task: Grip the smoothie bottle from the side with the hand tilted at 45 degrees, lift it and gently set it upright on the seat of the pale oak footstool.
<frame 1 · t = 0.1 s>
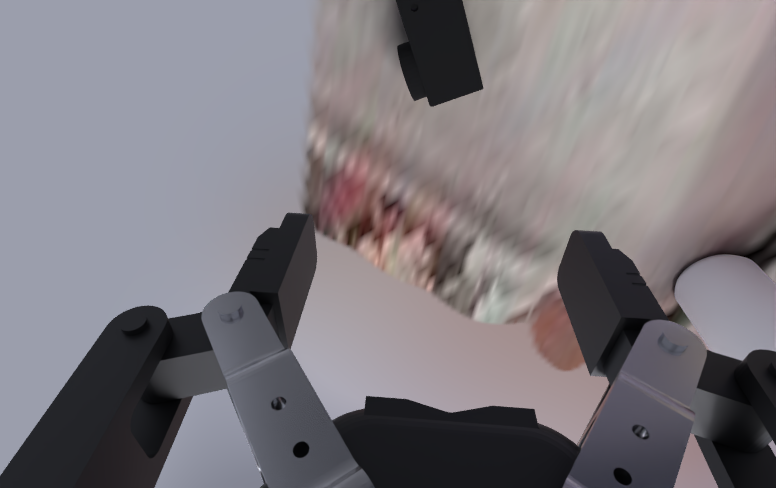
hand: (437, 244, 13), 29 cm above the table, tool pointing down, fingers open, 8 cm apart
digital camera: (428, 15, 35), on the table
alcohol: (710, 278, 50), on the table
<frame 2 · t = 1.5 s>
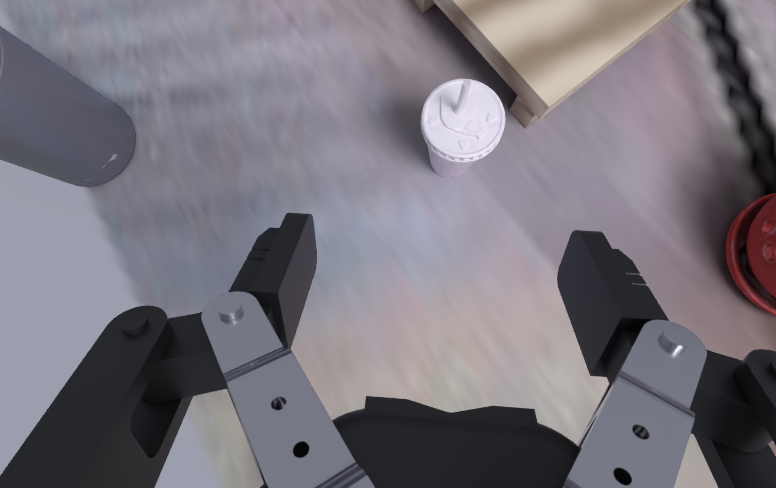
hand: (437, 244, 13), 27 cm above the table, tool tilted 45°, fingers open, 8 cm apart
smoothie: (448, 160, 41), on the table
stool: (534, 7, 43), on the table
plant pot: (775, 253, 39), on the table
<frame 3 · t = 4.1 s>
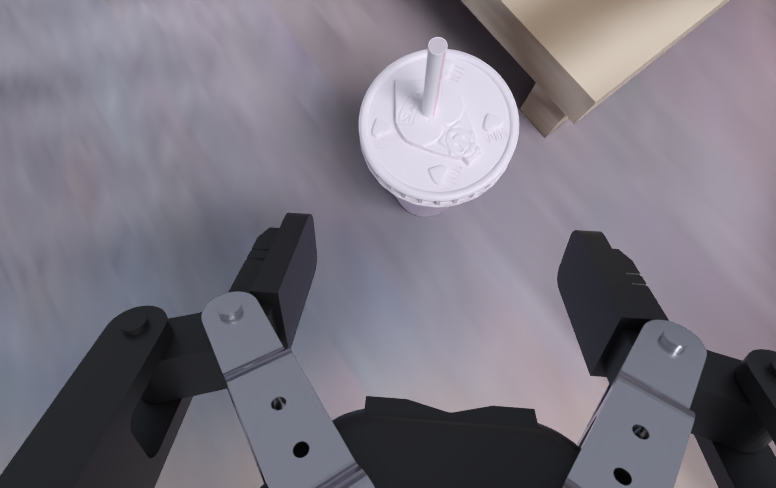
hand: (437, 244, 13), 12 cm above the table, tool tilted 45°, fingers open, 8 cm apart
smoothie: (425, 188, 26), on the table
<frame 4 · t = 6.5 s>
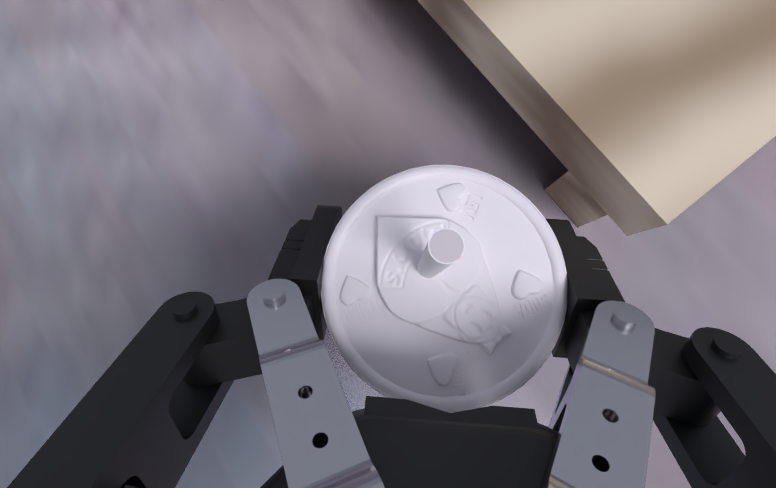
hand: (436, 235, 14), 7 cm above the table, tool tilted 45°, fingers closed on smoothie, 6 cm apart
smoothie: (423, 291, 20), on the table, touching gripper
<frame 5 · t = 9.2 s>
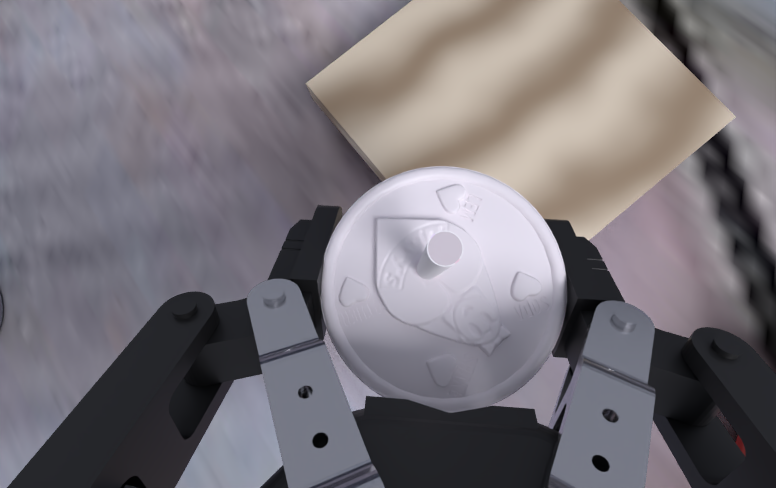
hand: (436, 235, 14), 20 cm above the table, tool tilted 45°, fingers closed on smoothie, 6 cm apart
smoothie: (422, 292, 20), point 13 cm above the table, touching gripper
stool: (492, 139, 35), on the table
when the fingers open (15 cm above the table, at t = 12.1 s): smoothie drops 1 cm, resting on stool.
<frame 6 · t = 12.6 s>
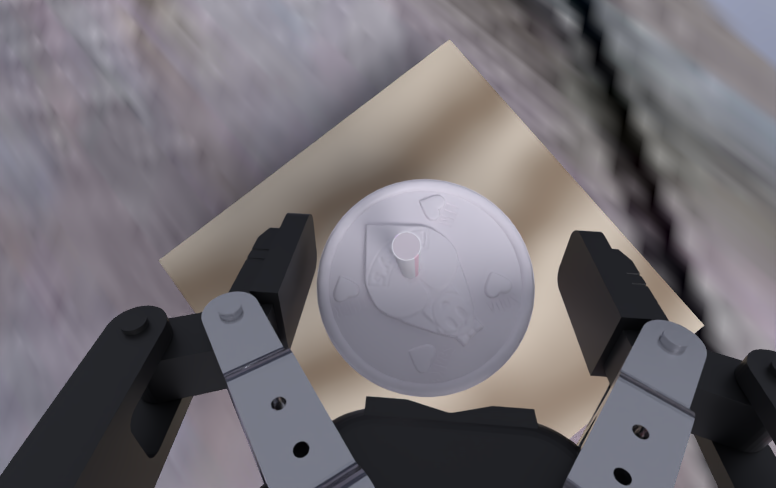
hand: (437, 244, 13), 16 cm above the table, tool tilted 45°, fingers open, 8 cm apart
smoothie: (421, 296, 22), point 7 cm above the table, touching stool
stool: (417, 293, 29), on the table
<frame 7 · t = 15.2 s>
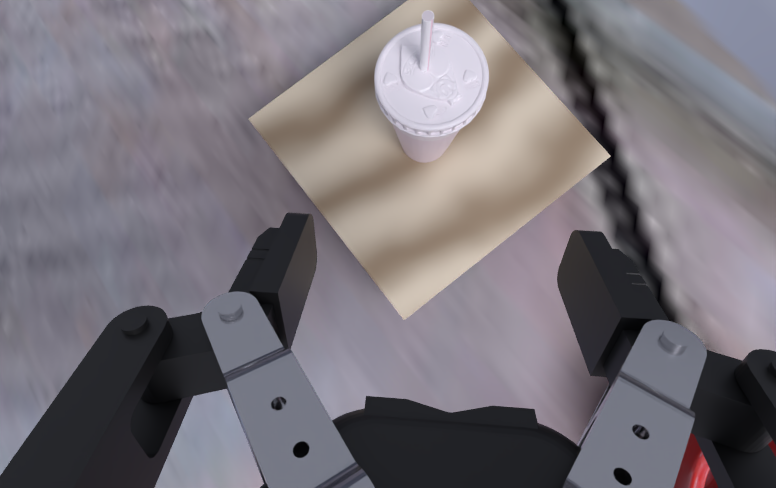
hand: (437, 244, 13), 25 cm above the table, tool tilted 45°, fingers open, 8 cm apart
smoothie: (424, 140, 33), point 7 cm above the table, touching stool
stool: (421, 165, 39), on the table
plant pot: (672, 451, 36), on the table
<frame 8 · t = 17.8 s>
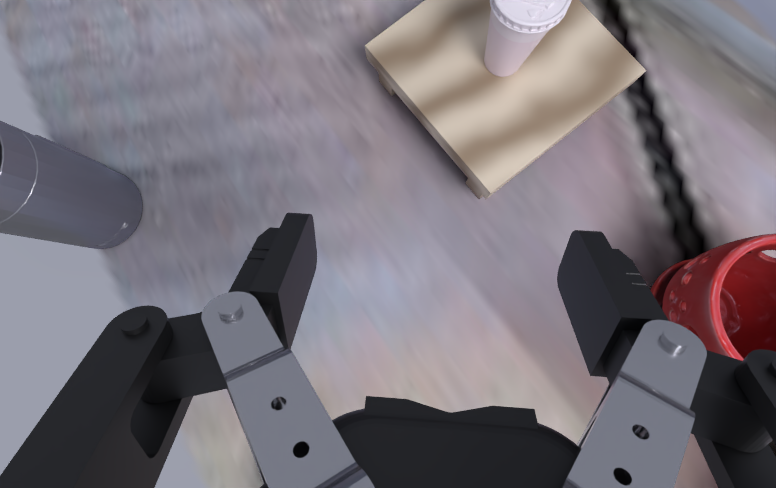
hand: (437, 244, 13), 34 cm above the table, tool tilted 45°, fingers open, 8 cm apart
smoothie: (502, 60, 42), point 7 cm above the table, touching stool
stool: (488, 91, 49), on the table
plant pot: (692, 309, 45), on the table
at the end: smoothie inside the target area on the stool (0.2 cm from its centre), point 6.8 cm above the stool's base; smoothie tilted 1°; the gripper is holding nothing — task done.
